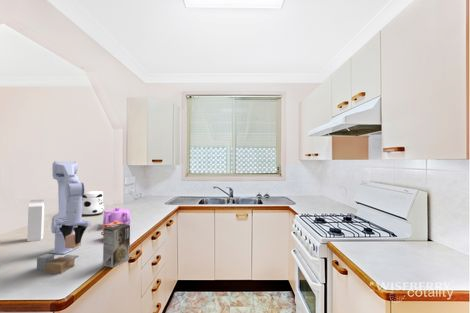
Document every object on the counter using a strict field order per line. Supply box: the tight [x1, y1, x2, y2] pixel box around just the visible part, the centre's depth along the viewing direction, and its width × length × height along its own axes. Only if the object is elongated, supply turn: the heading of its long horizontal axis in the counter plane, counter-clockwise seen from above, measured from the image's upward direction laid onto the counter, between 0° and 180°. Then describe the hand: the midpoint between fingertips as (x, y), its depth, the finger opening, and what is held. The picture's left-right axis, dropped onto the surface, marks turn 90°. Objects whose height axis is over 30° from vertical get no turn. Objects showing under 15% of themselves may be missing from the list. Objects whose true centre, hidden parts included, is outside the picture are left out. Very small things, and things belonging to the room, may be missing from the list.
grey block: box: [36, 253, 55, 271], centre depth 101 cm, size 4×4×5 cm
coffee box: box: [102, 223, 131, 269], centre depth 107 cm, size 9×6×16 cm
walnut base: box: [44, 256, 76, 274], centre depth 100 cm, size 7×7×4 cm
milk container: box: [82, 190, 105, 216], centre depth 197 cm, size 17×17×18 cm
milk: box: [26, 199, 45, 242], centre depth 135 cm, size 6×6×22 cm
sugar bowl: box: [100, 221, 123, 238], centre depth 139 cm, size 12×14×10 cm
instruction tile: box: [63, 254, 79, 259], centre depth 110 cm, size 8×6×1 cm
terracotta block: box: [65, 234, 82, 250], centre depth 104 cm, size 4×4×5 cm
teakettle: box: [102, 206, 131, 228], centre depth 166 cm, size 17×17×12 cm
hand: (73, 242), depth 104 cm, fingers closed on terracotta block, 4 cm apart
